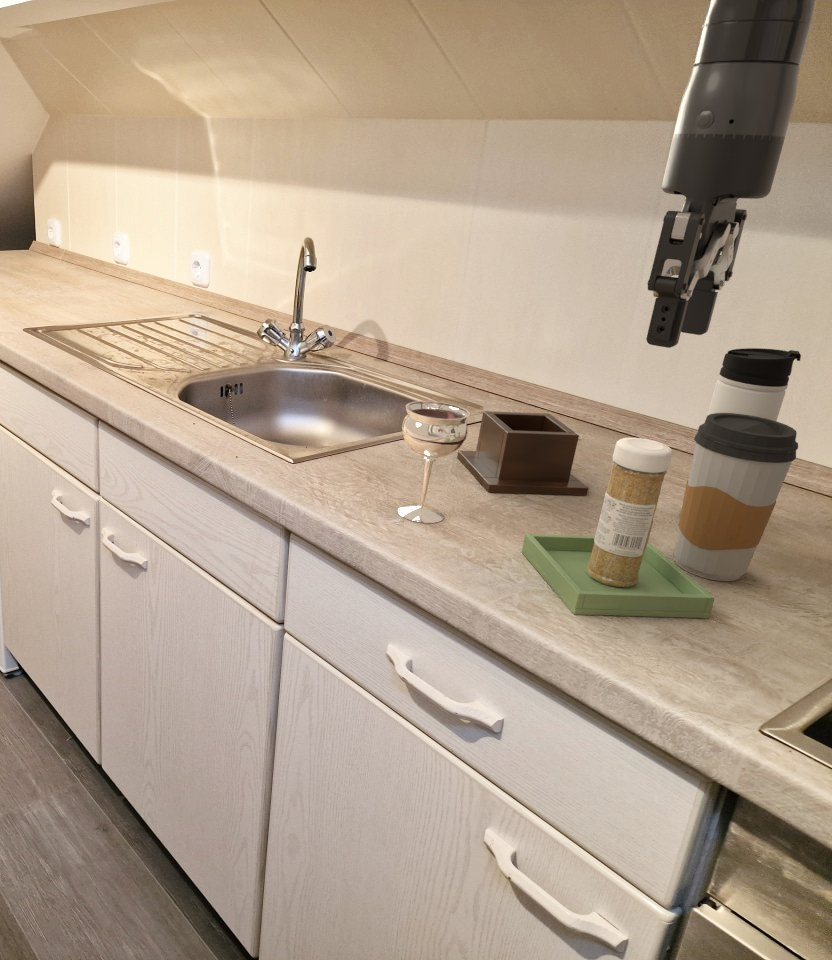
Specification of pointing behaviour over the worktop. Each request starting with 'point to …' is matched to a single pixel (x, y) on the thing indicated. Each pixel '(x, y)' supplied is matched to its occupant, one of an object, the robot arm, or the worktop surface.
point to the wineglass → (432, 445)
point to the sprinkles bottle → (628, 511)
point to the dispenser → (524, 455)
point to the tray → (652, 596)
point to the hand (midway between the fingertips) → (677, 339)
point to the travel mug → (753, 382)
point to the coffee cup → (731, 492)
